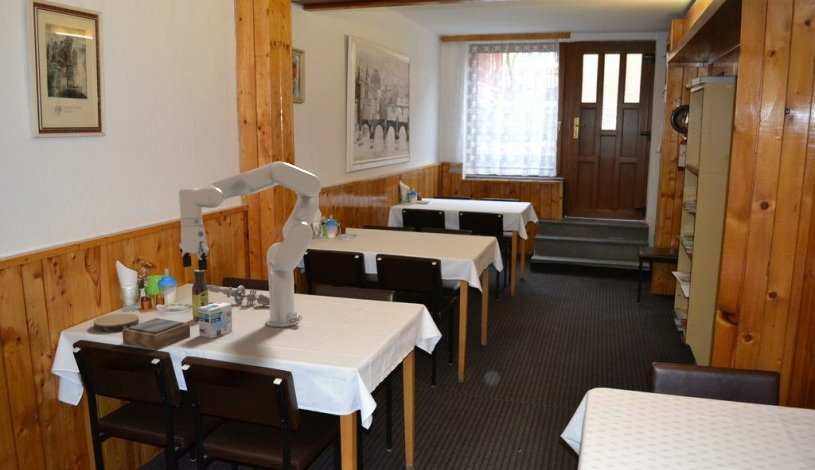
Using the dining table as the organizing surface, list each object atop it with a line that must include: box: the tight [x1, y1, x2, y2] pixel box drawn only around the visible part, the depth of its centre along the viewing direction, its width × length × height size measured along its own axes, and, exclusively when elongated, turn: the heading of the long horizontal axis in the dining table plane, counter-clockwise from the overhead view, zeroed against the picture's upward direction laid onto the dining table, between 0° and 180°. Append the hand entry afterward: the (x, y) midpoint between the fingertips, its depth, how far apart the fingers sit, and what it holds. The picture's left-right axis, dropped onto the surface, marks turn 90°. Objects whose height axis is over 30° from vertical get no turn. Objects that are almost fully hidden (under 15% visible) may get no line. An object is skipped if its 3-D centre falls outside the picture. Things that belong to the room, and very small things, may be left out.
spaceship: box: [207, 284, 270, 307], centre depth 289 cm, size 8×35×8 cm
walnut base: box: [121, 317, 191, 351], centre depth 240 cm, size 16×16×6 cm
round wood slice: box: [93, 313, 140, 333], centre depth 257 cm, size 16×16×3 cm
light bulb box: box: [198, 301, 233, 339], centre depth 247 cm, size 11×7×11 cm, turn 148°
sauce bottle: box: [191, 269, 210, 322], centre depth 264 cm, size 7×6×20 cm
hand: (195, 268), depth 245 cm, fingers open, 9 cm apart
